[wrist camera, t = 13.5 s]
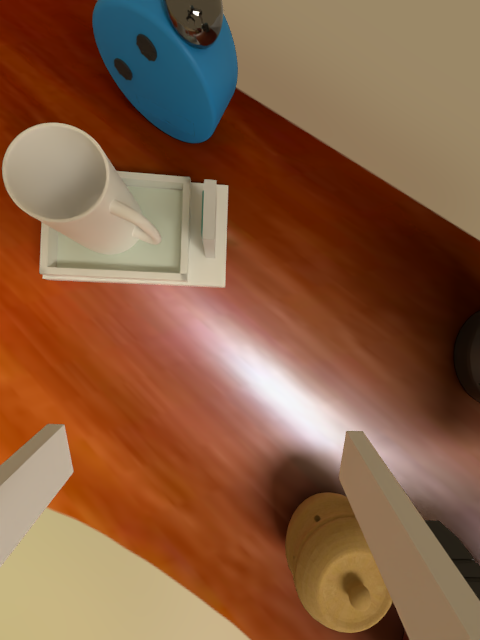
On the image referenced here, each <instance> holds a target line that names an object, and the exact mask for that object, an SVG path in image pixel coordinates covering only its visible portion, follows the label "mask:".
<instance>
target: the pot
mask: <svg viewBox="0 0 480 640" xmlns="http://www.w3.org/2000/svg"><path fill="white" fill-rule="evenodd" d="M285 548H286V558H287V562H288V566H289V569H290V570H291V572H292V574H293V580H294V583H295V587H296V591H297V593H298V596H299V599H300V600H301V602H302V604H303V606H304V608H305V609H306V610H307V611H308V613H309V614H310V615H311V616H312V617H313V618H314V619H315V620H317V621H318V622H320V623H321V624H323V625H324V626H326V627H327V628H330V629H333V630H336V631H338V632H346V633H354V632H361V631H363V630H366V629H368V628H370V627H372V626H373V625H375V624H376V623H378V622H379V621H380V620H381V619H382V618H383V617H384V616H385V614H386V613H387V611H388V610H389V608H390V607H391V604H392V602H393V601H392V599H391V596H390V594H389V592H388V590H387V587H386V585H385V583H384V580H383V578H382V576H381V574H380V571H379V569H378V567H377V564H376V562H375V560H374V558H373V555H372V553H371V551H370V548H369V546H368V544H367V542H366V539H365V537H364V535H363V532H362V530H361V528H360V526H359V523H358V521H357V519H356V517H355V514H354V512H353V510H352V507H351V505H350V503H349V501H348V498H347V497H346V496H344V495H341V494H337V493H330V492H327V493H319V494H315V495H312V496H310V497H309V498H307V499H305V500H304V501H303V502H302V503H301V504H300V505H299V506H298V507H297V509H296V510H295V512H294V513H293V515H292V518H291V520H290V522H289V525H288V529H287V534H286V540H285Z"/></svg>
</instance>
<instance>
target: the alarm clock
mask: <svg viewBox="0 0 480 640" xmlns="http://www.w3.org/2000/svg"><path fill="white" fill-rule="evenodd" d="M92 22H93V31H94V37H95V40H96V44H97V47H98V50H99V52H100V55H101V57H102V59H103V61H104V63H105V65H106V67H107V69H108V71H109V73H110V74H111V76H112V78H113V79H114V81H115V82H116V84H117V85H118V87H119V88H120V90H121V91H122V92H123V94H124V95H125V96H126V97H127V99H128V100H129V101H130V102H131V103H132V104H133V106H134V107H135V108H136V109H137V110H138V111H139V112H140V113H141V114H142V115H143V116H144V117H145V118H146V119H147V120H149V121H150V122H151V123H152V124H153V125H155V126H156V127H157V128H159V129H160V130H162V131H163V132H165V133H166V134H168V135H170V136H172V137H174V138H176V139H178V140H181V141H184V142H187V143H201V142H204V141H206V140H208V139H209V138H210V137H211V136H212V134H213V133H214V131H215V129H216V127H217V125H218V123H219V121H220V119H221V117H222V115H223V113H224V111H225V109H226V108H227V106H228V104H229V102H230V100H231V98H232V96H233V94H234V91H235V88H236V83H237V74H238V67H237V56H236V50H235V45H234V41H233V38H232V34H231V31H230V29H229V26H228V23H227V21H226V18H225V16H224V14H223V5H222V0H98V1H97V3H96V5H95V7H94V12H93V20H92Z"/></svg>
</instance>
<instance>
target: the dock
mask: <svg viewBox="0 0 480 640" xmlns="http://www.w3.org/2000/svg"><path fill="white" fill-rule="evenodd" d="M117 172H118V174H119V175H120V177H121V179H122V180H123V182H124V183H125V185H126V186H127V188H128V189H129V191H130V192H131V194H132V195H133V197H134V198H135V200H136V201H137V203H138V205H139V207H140V209H141V212H142V215H143V216H144V217H145V218H146V219H148V220H149V221H150V222H151V223H152V224H153V225H154V226H155V228H156V229H157V230H158V232H159V233H160V235H161V238H162V240H161V242H160V243H159V244H157V245H154V244H150V243H147V242H144V241H142V240H140V239H139V240H138V241H137V242H136V244H135V245H134V246H133V247H131V248H130V249H128V250H127V251H125V252H122V253H119V254H114V255H106V254H100V253H97V252H94V251H92V250H90V249H88V248H86V247H84V246H82V245H81V244H79V243H77V242H75V241H74V240H72V239H70V238H69V237H67V236H65V235H63V234H62V233H60V232H58V231H56V230H55V229H53V228H51V227H49V226H48V225H46V224H44V223H43V222H42V224H41V247H40V270H39V274H42V275H43V279H47V280H60V281H83V282H105V283H128V284H151V285H174V286H197V287H219V288H225V274H226V242H227V210H228V185H217V184H216V180H208V179H204V183H193V182H191V179H190V177H182V176H170V175H158V174H147V173H135V172H123V171H117Z"/></svg>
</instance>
